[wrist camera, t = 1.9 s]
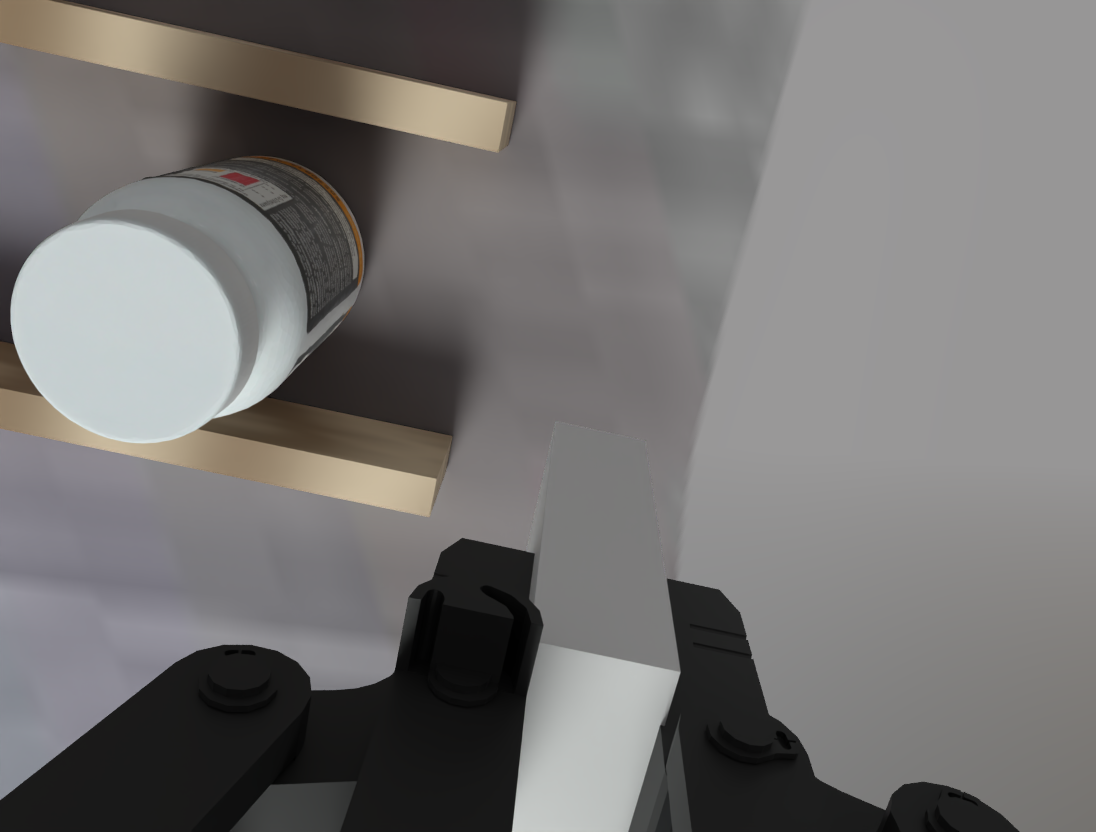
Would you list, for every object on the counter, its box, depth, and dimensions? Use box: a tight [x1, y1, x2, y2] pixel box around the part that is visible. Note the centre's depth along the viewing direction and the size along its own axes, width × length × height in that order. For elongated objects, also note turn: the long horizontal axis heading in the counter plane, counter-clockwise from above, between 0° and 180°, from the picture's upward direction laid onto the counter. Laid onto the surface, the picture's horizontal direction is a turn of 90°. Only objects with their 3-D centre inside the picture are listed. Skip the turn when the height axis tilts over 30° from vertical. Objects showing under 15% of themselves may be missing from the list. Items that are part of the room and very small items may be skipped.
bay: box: [0, 0, 516, 517], centre depth 26 cm, size 24×11×5 cm, turn 78°
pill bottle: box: [10, 156, 365, 443], centre depth 24 cm, size 6×6×10 cm
